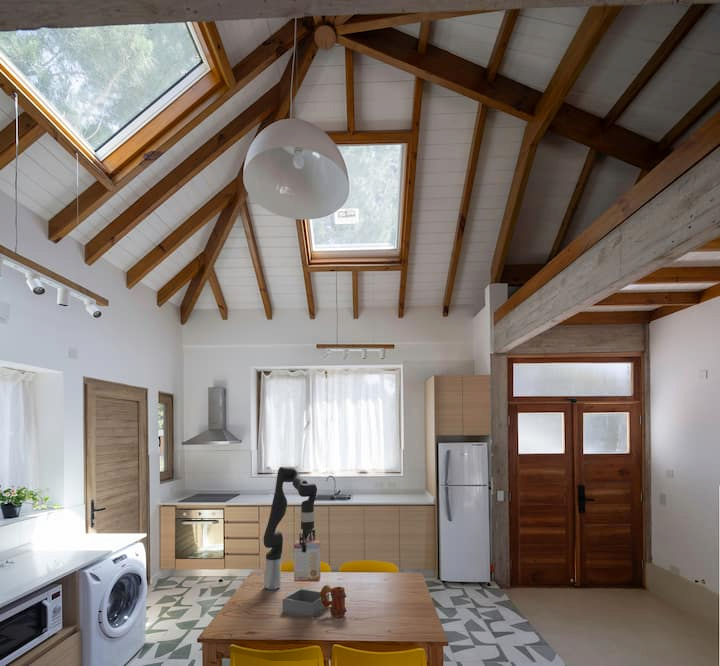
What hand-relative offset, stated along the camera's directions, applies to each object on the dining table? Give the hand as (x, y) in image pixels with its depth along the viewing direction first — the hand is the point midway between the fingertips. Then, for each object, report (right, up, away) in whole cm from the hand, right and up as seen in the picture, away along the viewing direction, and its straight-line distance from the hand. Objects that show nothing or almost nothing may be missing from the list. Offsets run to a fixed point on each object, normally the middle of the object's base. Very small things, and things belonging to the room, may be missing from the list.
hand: (307, 550), depth 313 cm
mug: (+15, -29, -15) cm, 36 cm away
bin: (0, -30, -6) cm, 30 cm away
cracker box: (0, -16, -2) cm, 16 cm away
